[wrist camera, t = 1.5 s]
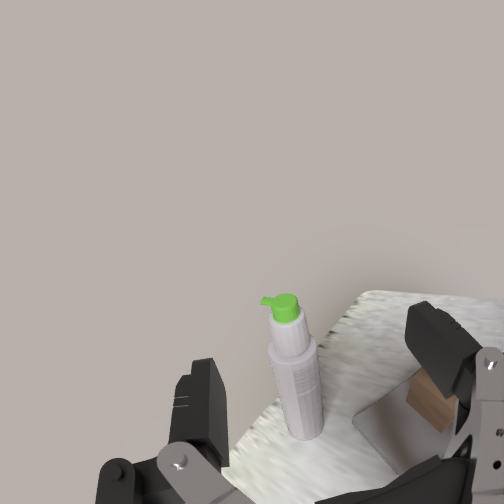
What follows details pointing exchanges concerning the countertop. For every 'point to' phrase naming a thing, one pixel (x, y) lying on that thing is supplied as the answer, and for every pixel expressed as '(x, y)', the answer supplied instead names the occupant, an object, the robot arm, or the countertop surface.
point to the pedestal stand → (409, 423)
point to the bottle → (295, 367)
